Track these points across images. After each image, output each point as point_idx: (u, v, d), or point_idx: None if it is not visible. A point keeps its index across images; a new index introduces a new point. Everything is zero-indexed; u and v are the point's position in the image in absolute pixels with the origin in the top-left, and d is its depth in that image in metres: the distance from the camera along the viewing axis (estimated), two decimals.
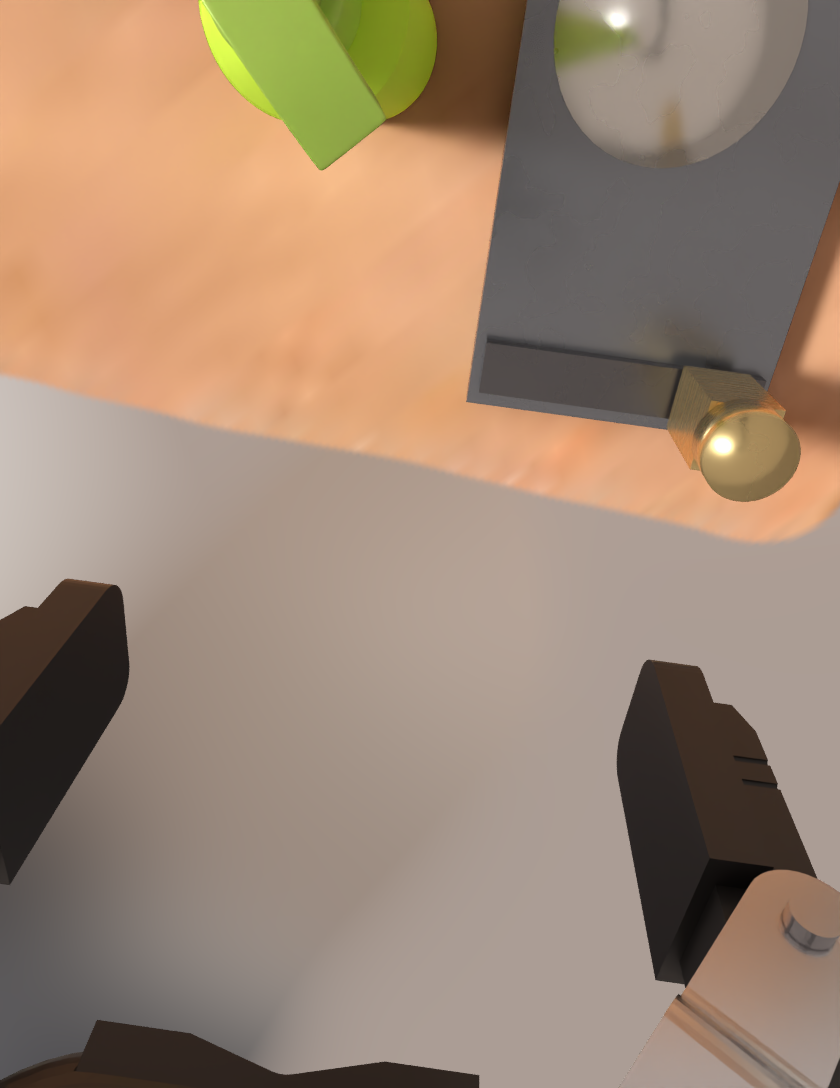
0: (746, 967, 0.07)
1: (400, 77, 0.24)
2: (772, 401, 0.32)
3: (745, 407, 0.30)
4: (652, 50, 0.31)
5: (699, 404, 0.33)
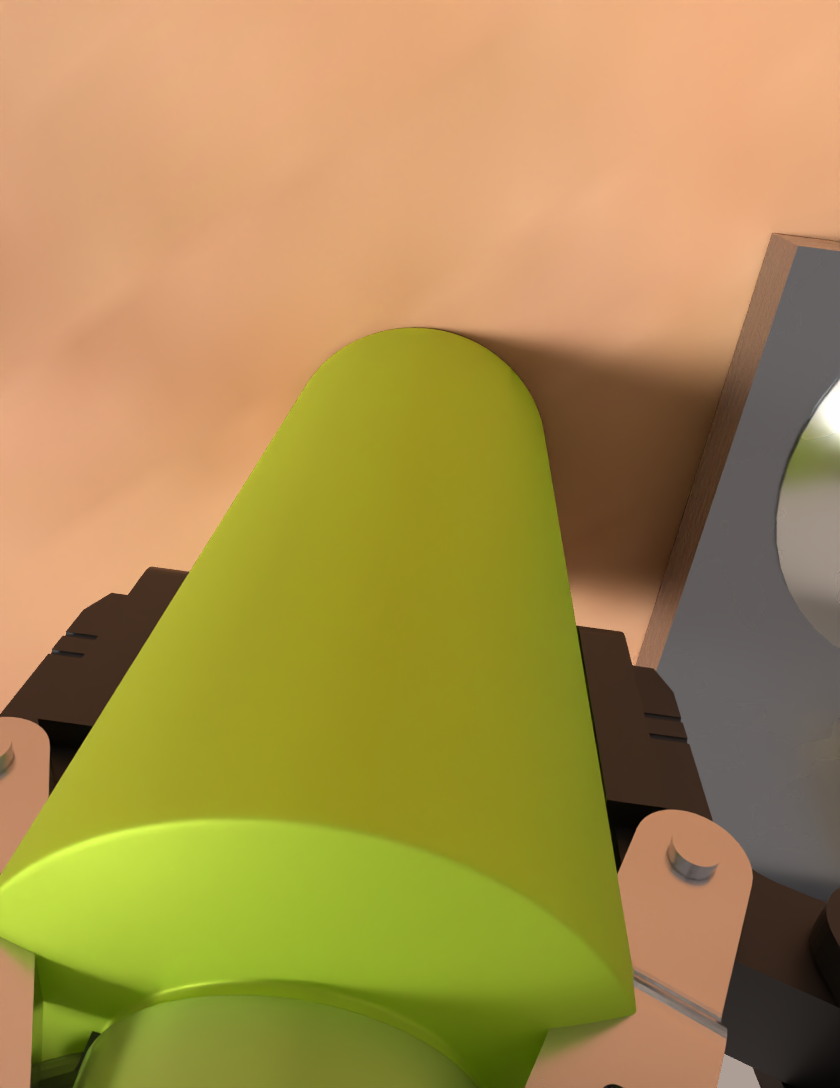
0: (642, 908, 0.08)
1: None
2: None
3: None
4: None
5: None
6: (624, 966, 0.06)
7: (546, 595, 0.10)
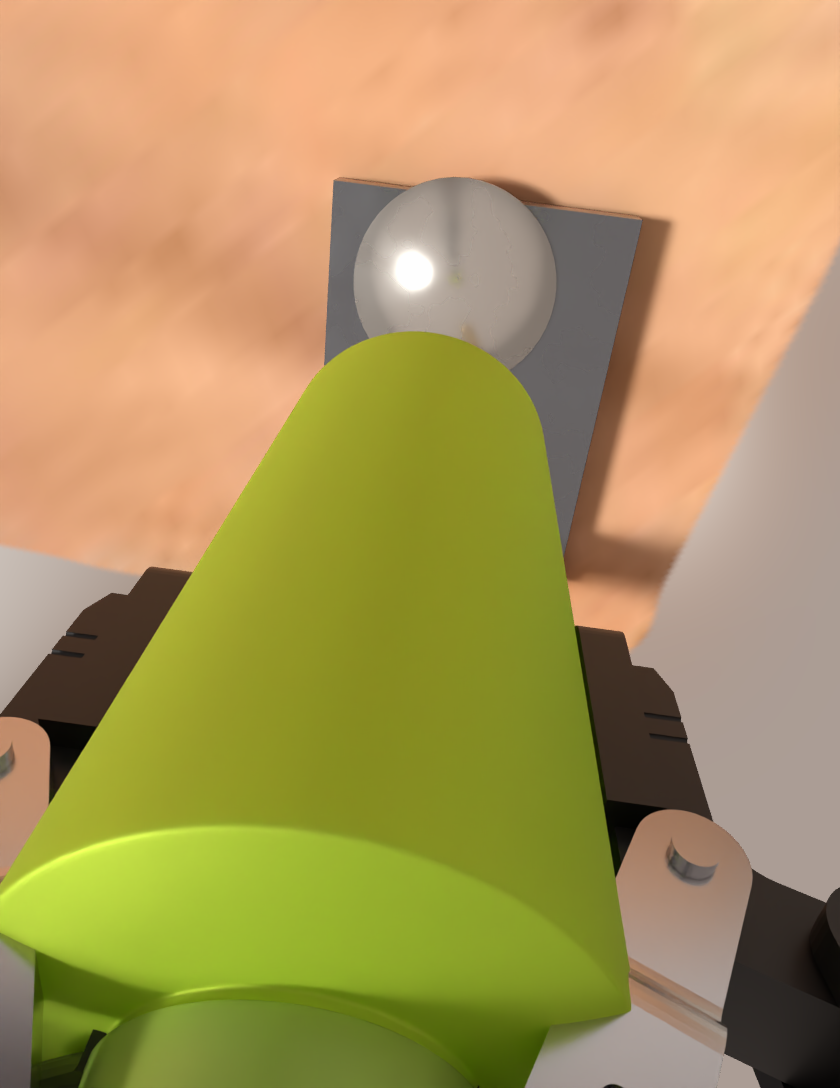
0: (641, 908, 0.08)
1: None
2: None
3: None
4: (435, 301, 0.38)
5: None
6: (622, 971, 0.06)
7: (544, 600, 0.10)
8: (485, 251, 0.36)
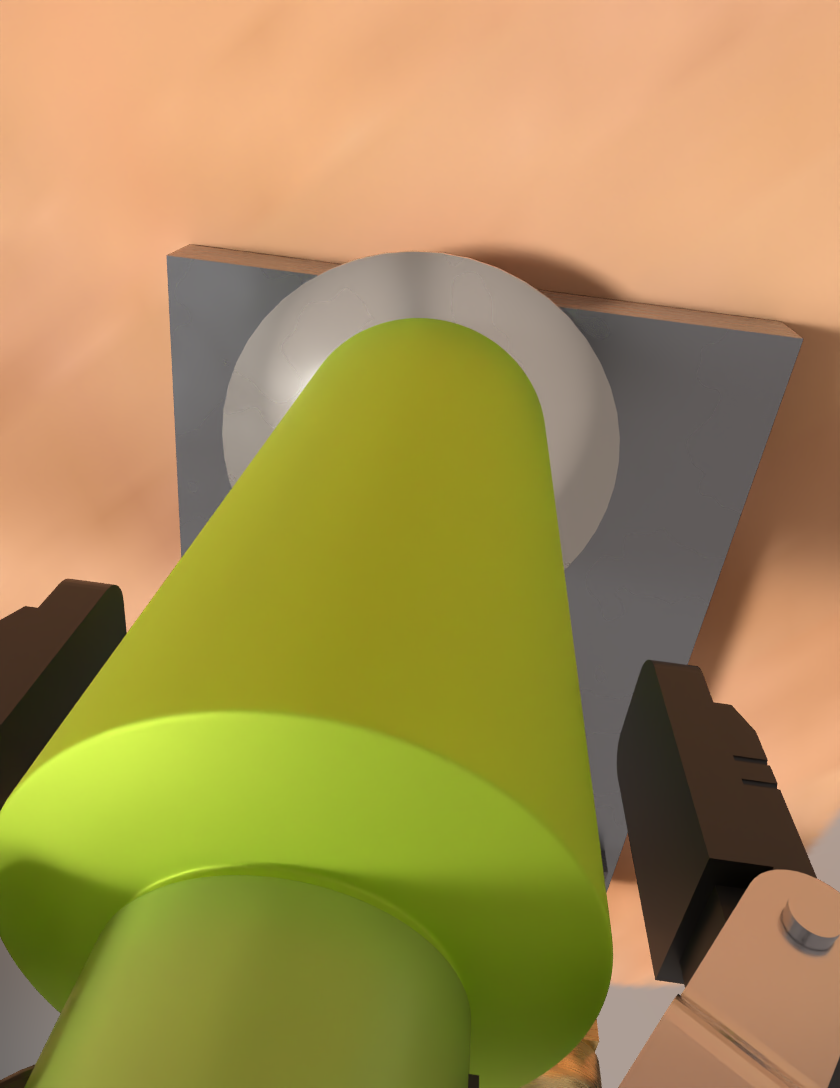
0: (745, 967, 0.07)
1: None
2: None
3: None
4: None
5: None
6: (592, 867, 0.07)
7: (535, 553, 0.10)
8: None
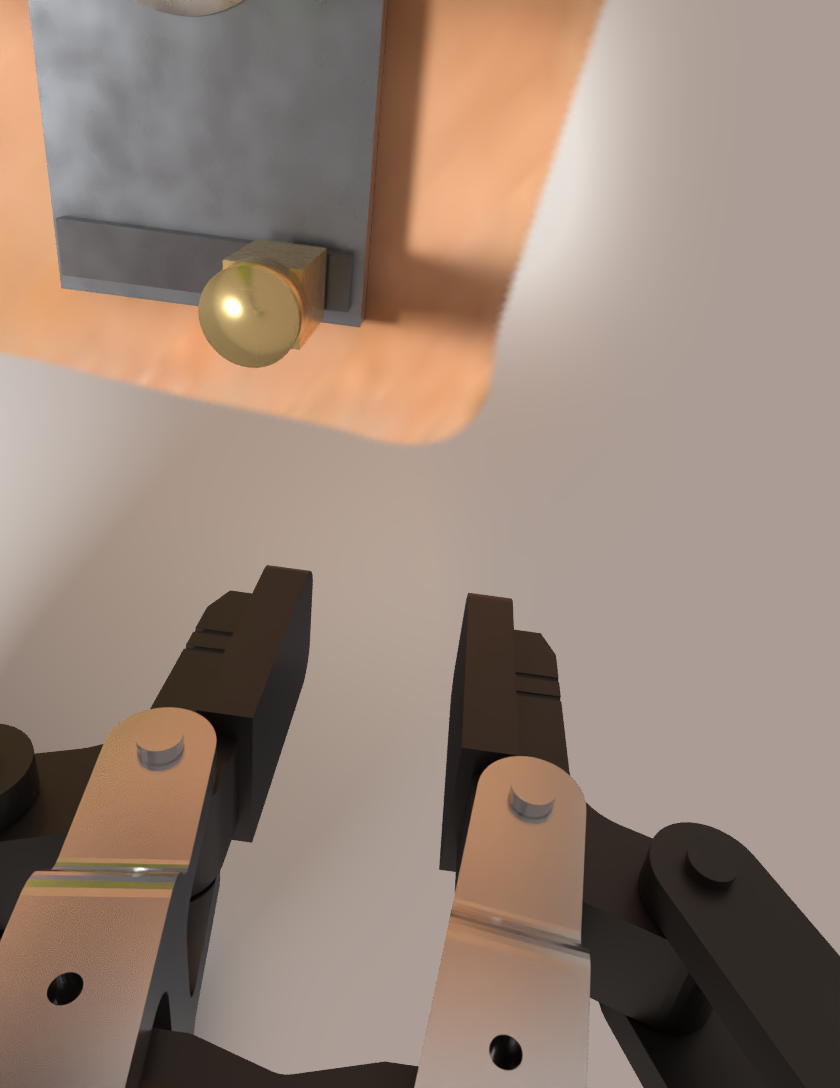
0: (495, 858, 0.08)
1: None
2: (302, 264, 0.30)
3: (240, 262, 0.28)
4: None
5: None
6: None
7: None
8: None
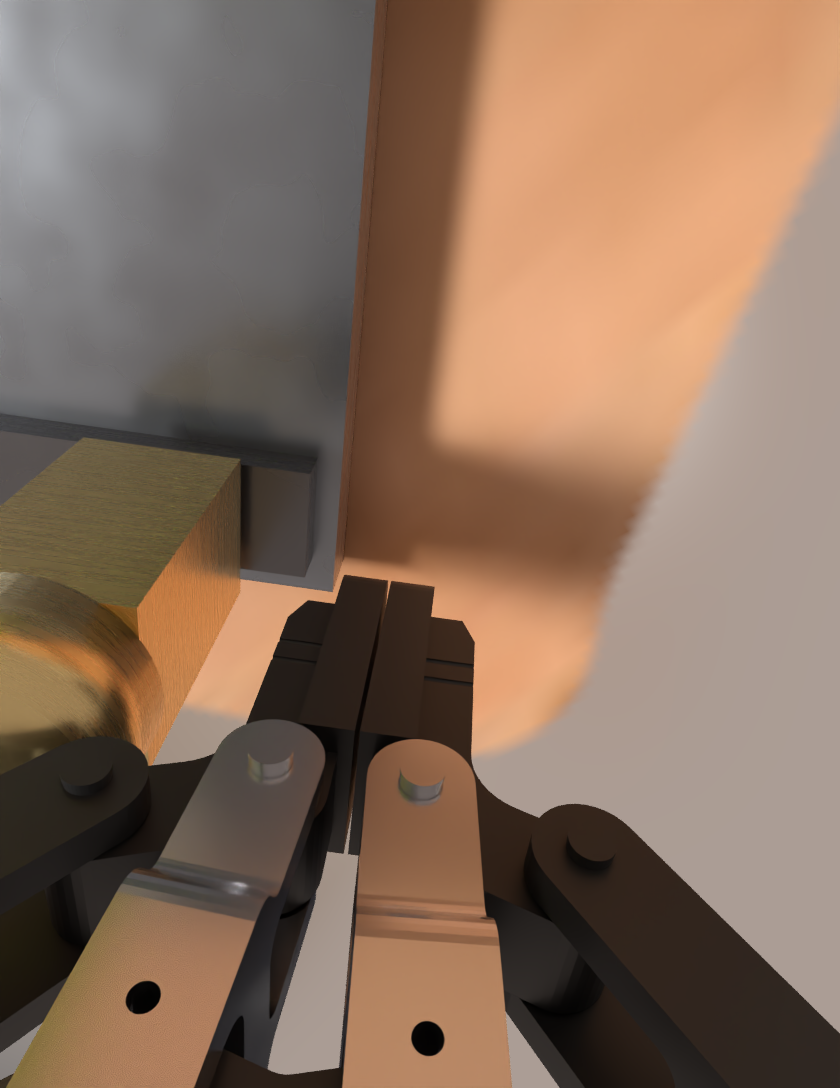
0: (393, 846, 0.08)
1: None
2: (151, 564, 0.11)
3: None
4: None
5: None
6: None
7: None
8: None
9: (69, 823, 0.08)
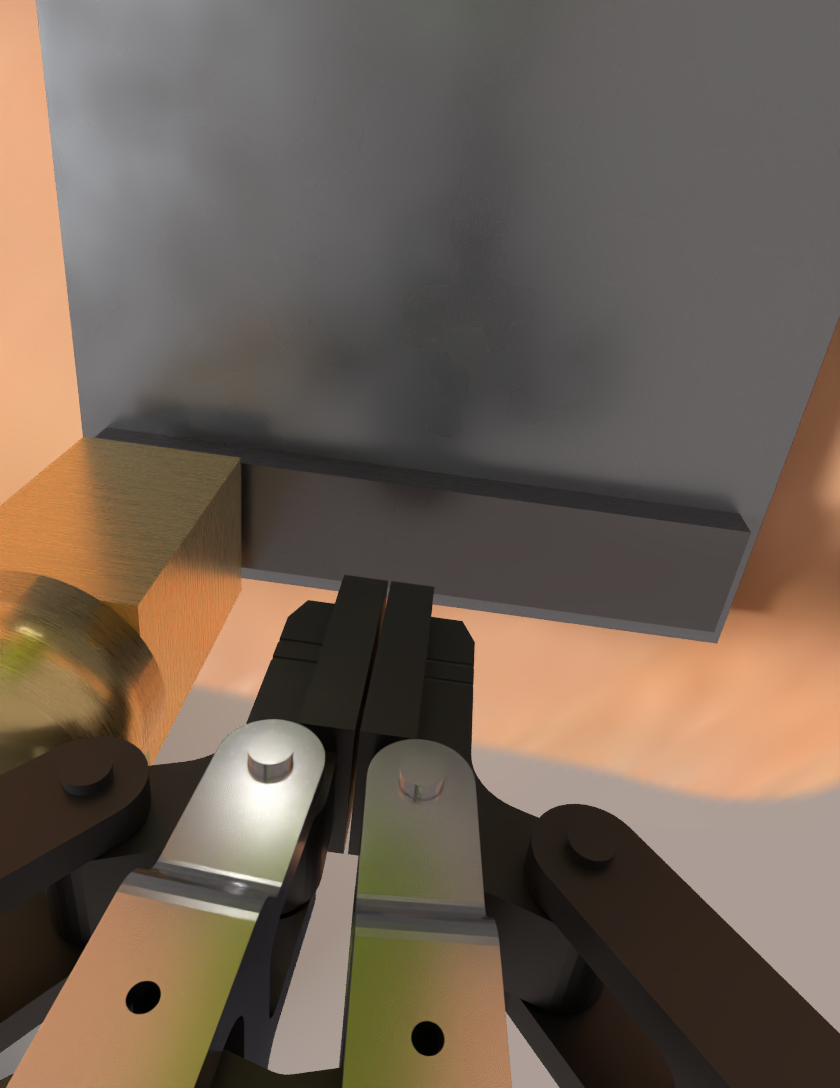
0: (393, 845, 0.08)
1: None
2: (152, 562, 0.11)
3: None
4: None
5: None
6: None
7: None
8: None
9: (69, 822, 0.08)
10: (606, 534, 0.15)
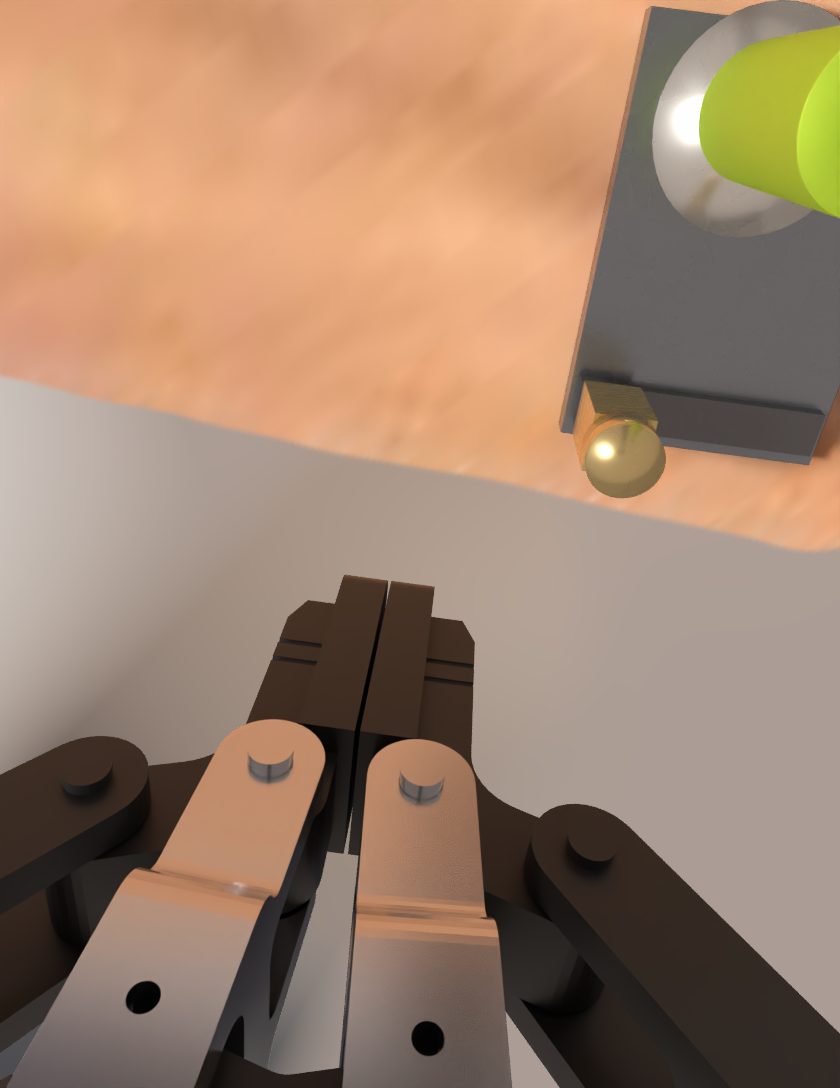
0: (393, 845, 0.08)
1: None
2: (649, 412, 0.38)
3: (620, 419, 0.36)
4: None
5: (589, 415, 0.39)
6: None
7: None
8: None
9: (69, 822, 0.08)
10: (772, 416, 0.42)
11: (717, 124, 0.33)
